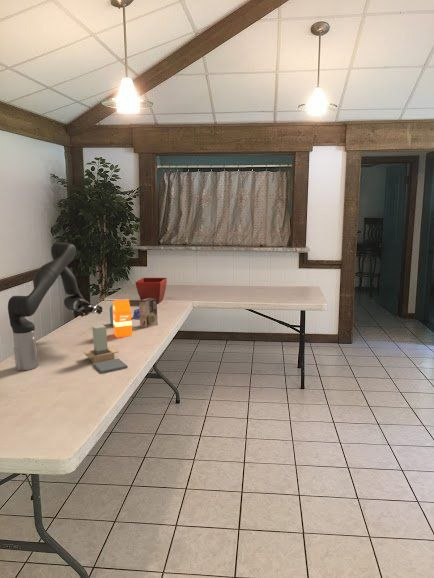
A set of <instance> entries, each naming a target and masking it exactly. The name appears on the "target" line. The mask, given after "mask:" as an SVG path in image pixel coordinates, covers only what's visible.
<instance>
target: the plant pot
mask: <svg viewBox="0 0 434 578" xmlns="http://www.w3.org/2000/svg"><path fill="white" fill-rule="evenodd" d="M167 282H168V278H167V277H142V278H140V279H138V280H136V281H135V288H136V290H137V293H138V297H139V300H142V299H147V298H154V299H156V301H157V304H160V303H161V302H162V301H164V297H165V295H166V289H167V284H168V283H167Z"/></svg>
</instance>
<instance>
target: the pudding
mask: <svg viewBox="0 0 434 578" xmlns="http://www.w3.org/2000/svg"><path fill="white" fill-rule="evenodd" d="M131 319H135V320H140V312H139V308H136V309H134V310H133V314H131Z"/></svg>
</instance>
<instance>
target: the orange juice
mask: <svg viewBox="0 0 434 578" xmlns="http://www.w3.org/2000/svg"><path fill="white" fill-rule="evenodd" d="M112 301H113V302H112V305H113V324H114V325H113V334H114V336H115V338H122V337H129V336H130V337H132V336H133V321H132V318H131V316H132V310H131V305H130V299H129V298H128V299H121V300H119V299H118V300H112Z"/></svg>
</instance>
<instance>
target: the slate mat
mask: <svg viewBox="0 0 434 578" xmlns="http://www.w3.org/2000/svg"><path fill="white" fill-rule="evenodd" d="M92 365H93V366H94V368H95V369H96V370H98V372H100V374H105V373H109V372H115V371H121V370H123V369H127V368H128V365H127V364H126V363H125V362H123V361H122V360H121V359H119V358H114V359H113V360H108V361H102V362H97V363H93V362H92Z"/></svg>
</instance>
